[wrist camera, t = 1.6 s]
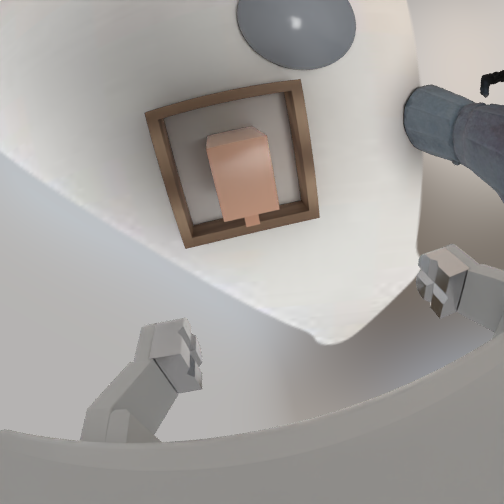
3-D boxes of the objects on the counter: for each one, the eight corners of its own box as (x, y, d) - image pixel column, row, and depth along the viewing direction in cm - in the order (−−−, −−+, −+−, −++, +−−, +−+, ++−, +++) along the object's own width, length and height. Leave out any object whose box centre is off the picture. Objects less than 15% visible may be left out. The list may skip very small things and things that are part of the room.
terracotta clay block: (207, 136, 27) (205, 148, 20) (252, 126, 27) (266, 135, 20) (223, 204, 31) (228, 238, 24) (265, 194, 31) (282, 225, 24)
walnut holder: (151, 111, 25) (144, 112, 22) (291, 80, 25) (300, 79, 23) (187, 235, 32) (185, 248, 29) (310, 207, 32) (319, 217, 30)
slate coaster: (226, -24, 18) (227, -27, 18) (339, -27, 19) (342, -30, 18) (250, 77, 25) (251, 76, 24) (361, 67, 25) (364, 66, 24)
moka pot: (397, 176, 32) (524, 262, 14) (393, 51, 24) (546, 53, 7) (450, 173, 32) (563, 242, 15) (450, 63, 24) (582, 84, 7)
